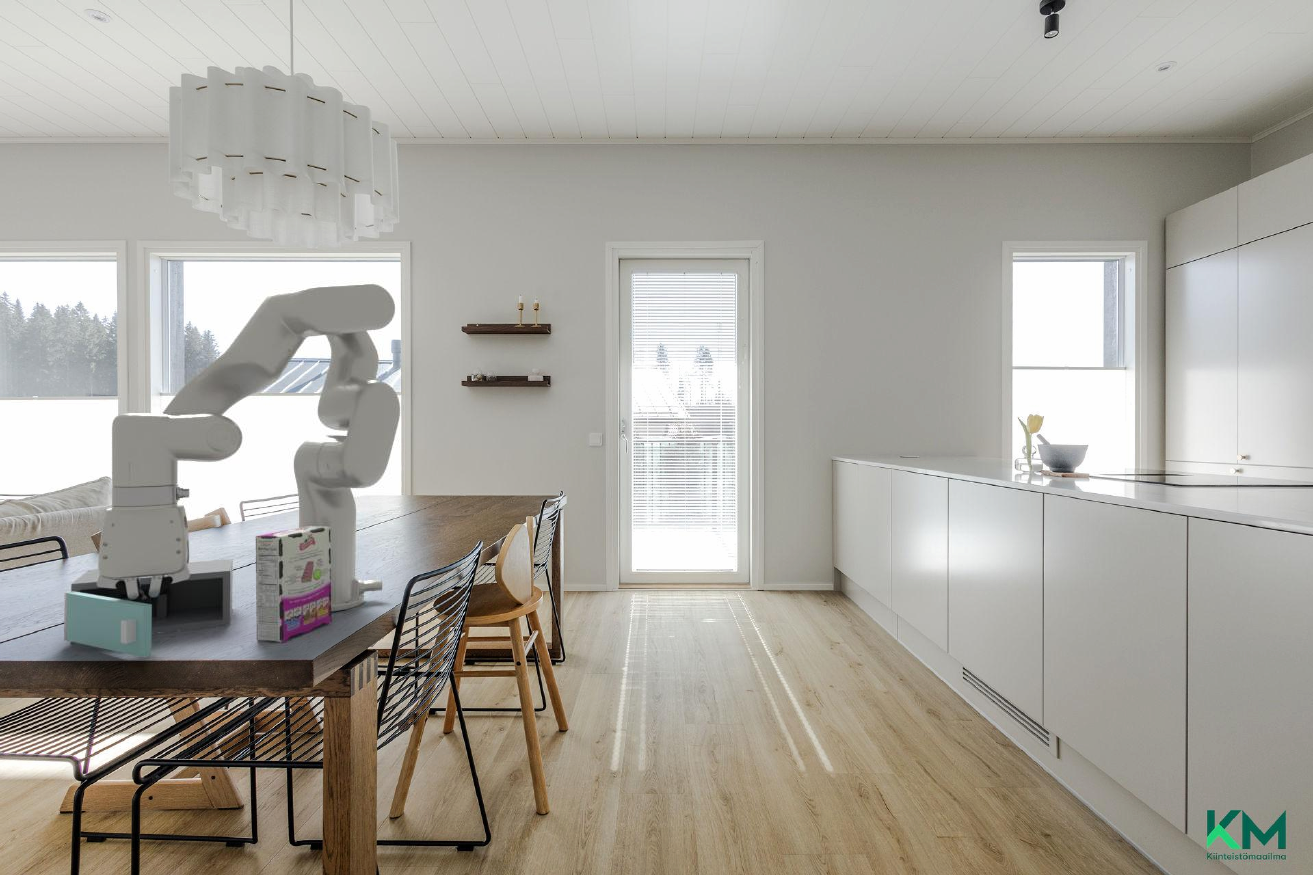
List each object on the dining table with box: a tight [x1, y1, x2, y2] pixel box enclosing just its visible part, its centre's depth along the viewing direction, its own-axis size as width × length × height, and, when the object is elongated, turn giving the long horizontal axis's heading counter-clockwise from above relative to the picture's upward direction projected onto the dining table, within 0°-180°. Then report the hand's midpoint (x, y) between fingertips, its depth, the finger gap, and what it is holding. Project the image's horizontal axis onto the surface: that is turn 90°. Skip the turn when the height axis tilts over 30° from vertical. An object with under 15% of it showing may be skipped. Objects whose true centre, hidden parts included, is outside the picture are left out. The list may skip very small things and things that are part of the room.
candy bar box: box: [255, 526, 332, 644], centre depth 104 cm, size 11×5×16 cm, turn 168°
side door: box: [63, 590, 152, 658], centre depth 92 cm, size 19×2×7 cm, turn 67°
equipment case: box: [70, 558, 234, 645], centre depth 108 cm, size 20×12×9 cm, turn 122°
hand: (145, 623), depth 94 cm, fingers closed
